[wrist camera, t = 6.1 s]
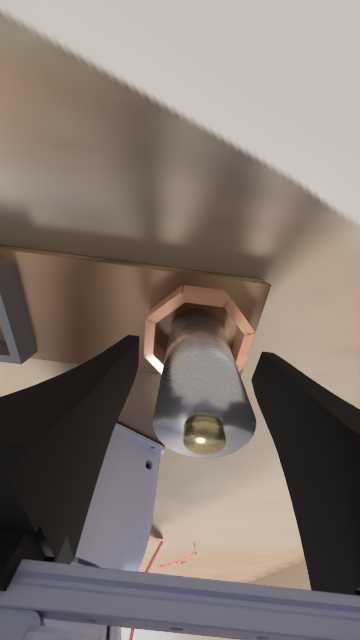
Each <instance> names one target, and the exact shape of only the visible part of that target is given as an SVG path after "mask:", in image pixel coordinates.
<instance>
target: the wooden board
mask: <svg viewBox="0 0 360 640" xmlns="http://www.w3.org/2000/svg"><path fill="white" fill-rule="evenodd" d="M0 261H5V262H13V263H16V266H17V270H18V274H19V278H20V282H21V286H22V290H23V294H24V298H25V302H26V306H27V310H28V314H29V319H30V323H31V327H32V331H33V335H34V339H35V343H36V347H37V351H38V352H37V353H35V354H34V355H33V356H31V357H30V358H34V359H42V360H50V361H58V362H67V363H75V364H83V363H85V362H87V361H88V360H90V359H92V358H93V357H95V356H97V355H98V354H100V353H102V352H103V351H105V350H106V349H108V348H109V347H111V346H112V345H114V344H115V343H117V342H118V341H120V340H121V339H123V338H124V337H126V336H127V335H135V336H139V366H138V370H137V371H139V372H147V373H155V374H161V373H160V372H159V371H158V370H157V369H156V368H155V367H154V366H153V365H152V364H151V363H150V362H149V361H148V360H147V359H146V358H145V356H144V338H145V319H146V317H147V316H148V314H149V312H150V310H151V308H153V307H154V306H155V305H157V304H158V303H159V302H161V301H162V300H163V299H165V298H166V297H167V296H169V295H170V294H171V293H172V292H174V291H175V290H176V289H178V288H179V287H180V286H183V287H184V285H188V286H196V287H204V288H211V289H219V290H225V291H227V293H228V294H229V295H230V297H231V298H232V300H233V301H234V303H235V304H236V305H237V307H238V308H239V310H240V311H241V313H242V314H243V315H244V317H245V318H246V320H247V321H248V323H249V324H250V326H251V327H252V329H253V330H254V331H255V332H256V329H257V326H258V323H259V320H260V317H261V314H262V311H263V308H264V305H265V302H266V299H267V296H268V293H269V290H270V287H271V284H269V283H267V282H266V281H264V280H262V279H255V278H247V277H240V276H232V275H224V274H217V273H209V272H202V271H194V270H187V269H179V268H171V267H164V266H156V265H149V264H141V263H133V262H126V261H118V260H111V259H103V258H96V257H88V256H80V255H73V254H65V253H58V252H50V251H42V250H35V249H27V248H20V247H12V246H5V245H0ZM192 308H201V309H205V310H208V311H210V312H212V313H213V314H215V315H216V316H217V317H218V319H219V320H220V322H221V325H222V327H223V330H224V333H225V336H226V338H227V341H228V344H229V347H230V349H231V348H232V345H233V341H234V338H235V334H236V331H237V327H238V326H237V324H236V323H235V322H234V320H233V319H232V317H231V316H230V315H229V313H228V312H227V311H226V309H225V308H224V307H217V306H209V305H202V304H194V303H186V302H185V303H183V304H182V305H181V306H179V307H178V308H176V309H175V310H174V311H172V312H171V313H169V314H168V315H167V316H165V317H164V318H163V319H161V320H160V321H158V331H157V343H158V344H159V345H160V346H161V347H162V349H163V350H164V351H165V352H166V350H167V345H168V340H169V334H170V329H171V325H172V322H173V321H174V319H175V318H176V317H177V316H178V315H179V314H180V313H182V312H183V311H185V310H188V309H192ZM255 332H254V333H255ZM0 341H6V340H5V337H4V334H3V331H2V328H1V325H0ZM242 371H243V368H242V370H240V371H239V374H240V377H241V374H242Z"/></svg>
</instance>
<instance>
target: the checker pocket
mask: <svg viewBox="0 0 360 640" xmlns="http://www.w3.org/2000/svg"><path fill="white" fill-rule="evenodd" d="M0 325H1V328H2V331H3V334H4V337H5V340H6V341H0V362H8V363H16V364H22V363H24V362H25V361H26V360H28V359H29V358H30V357H31V356H33V355H34V354H35V353H37V352H38V351H37V347H36V343H35V339H34V335H33V331H32V327H31V323H30V319H29V314H28V310H27V306H26V302H25V298H24V294H23V290H22V286H21V282H20V278H19V274H18V270H17V266H16V263H13V262H5V261H0Z"/></svg>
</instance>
